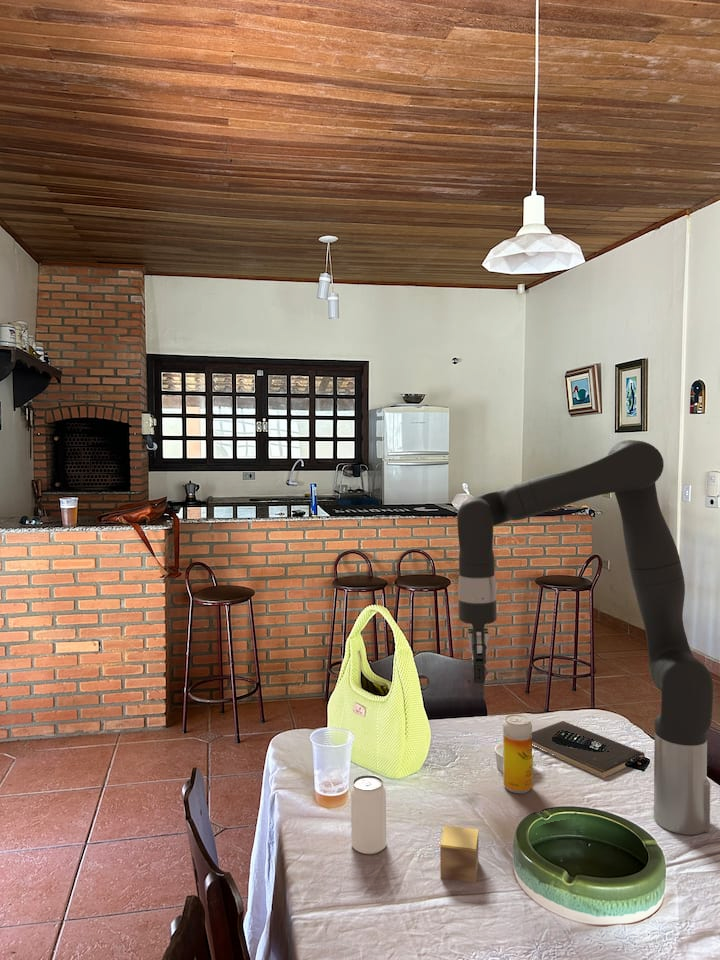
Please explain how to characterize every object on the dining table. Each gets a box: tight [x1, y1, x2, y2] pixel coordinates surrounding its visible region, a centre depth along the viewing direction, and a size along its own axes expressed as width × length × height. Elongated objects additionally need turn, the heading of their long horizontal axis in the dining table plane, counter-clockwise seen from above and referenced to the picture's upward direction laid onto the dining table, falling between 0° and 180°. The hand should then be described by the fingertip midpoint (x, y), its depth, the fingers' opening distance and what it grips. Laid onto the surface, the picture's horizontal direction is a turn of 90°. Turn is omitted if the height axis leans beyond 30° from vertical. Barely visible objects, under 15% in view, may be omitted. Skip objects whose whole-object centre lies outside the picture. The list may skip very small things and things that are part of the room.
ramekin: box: [494, 742, 535, 773], centre depth 156 cm, size 9×9×4 cm
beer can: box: [502, 714, 533, 794], centre depth 147 cm, size 6×6×15 cm
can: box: [350, 774, 387, 856], centre depth 126 cm, size 6×6×12 cm
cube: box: [439, 824, 479, 884], centre depth 119 cm, size 6×6×6 cm
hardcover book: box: [532, 720, 646, 779], centre depth 164 cm, size 16×23×2 cm
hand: (479, 682), depth 138 cm, fingers closed
